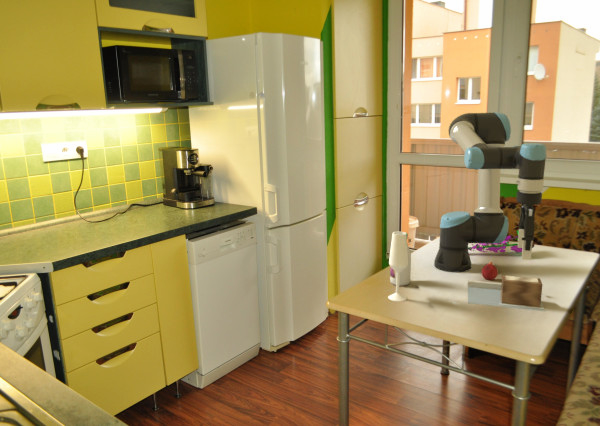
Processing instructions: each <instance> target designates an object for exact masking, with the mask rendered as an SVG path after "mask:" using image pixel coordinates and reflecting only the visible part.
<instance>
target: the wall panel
mask: <svg viewBox="0 0 600 426" xmlns="http://www.w3.org/2000/svg"><path fill="white" fill-rule="evenodd" d="M501 285H502V282H493V281H481V280H470V279H469V280H467V303H468V304H471V305H473V304H474V305H480V306H481V305H482V306H490V307H493V306H494V307H501V308H511V309H513V308H514V309H522V310H531V311H541V312H545V311H546V309H545V307H544V305H543V302H542V301H541V305H540V307H535V306H525V305H515V304H505V303H502V302H501Z"/></svg>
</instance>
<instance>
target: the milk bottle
mask: <svg viewBox="0 0 600 426" xmlns="http://www.w3.org/2000/svg"><path fill="white" fill-rule="evenodd" d="M405 233H406V237H407V240H408V239H409V238H408V236H409V235H408V234H409V233H408V232H405ZM407 253H408V266H407V267H406V268H405V269H404V270H403V271H402V272H400V284H399V287H401V286H402V287H403V286H408V285H409V284H410V283H411V275H412V274H411V269H412V267H411V266H412V264H411V263H412V254H411V249H410V247H409V244H408V243H407ZM396 273H397V272H395V271H394V270H393V269H392V268H391V267H390V273H389V274H390V275H389V276H390V277H389V281H390V283H391V284H392V285H394V286H396Z"/></svg>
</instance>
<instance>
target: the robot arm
mask: <svg viewBox="0 0 600 426" xmlns="http://www.w3.org/2000/svg"><path fill="white" fill-rule="evenodd" d="M511 132H512V128H511V122H510V119H509V117H508V116H507V115H506V113H503V112H496V111H495V112H475V113H474V112H467V113H463V114H459V115H458V116H457V117H455V118H454V119H453V120H452V121H451V123H450V124H449V126H448V136H449V138H450V140H451V141H452V143H453V142H454V143H455V144H458V146H459V147H460V148H461V150H462V151H463V152H464V156H463V161H464V166H465V167H466V169H468V170H477V171H478V172H477V173H478V176H477V177H478V178H477V181H478V182H477V206H476V207H477V208H476V209H474V210H473V215H471V213H470V212H468V211H451V212H447V213H445V214H443V215H442V216H441V218H440V224H439V247H438V250H437V253H436V256H435V258H434V262H433V263H434V268H436V269H438V270H440V271H444V272H452V273H463V272H468V271H470V270H471V269H472V260H471V257H470V253H469V250H468V247H469V244H479V243H490V244H489V245H491V244H493V243H501V242H503V241H504V240H505V238H506V237H507V236H508V233H509V227H510V226H509V224H510V223H509V218H508V217H507V216H506V215H505V214H504V211H503V209H501V206H500V205H501V204H500V202H501V201H500V200H501V170H518V177H517V178H518V180H516V181H515V184H517V190H518V191H516V199H515V201H516V203H518V204H520V205H521V207H520V215H519V221H518V231H519V236H518V235H517V236H518V241H517V243H518V248H522V253H521V260H524V261H532V251H533V248H532V243H533V241H534V240H535V215H536V209H535V208H534V205H540V204H542V199H543V193H542V191H543V189H544V180H545V177H544V176H545V169H546V159H547V146H546V145H545V144H543V143H538V142H537V143H536V142H528V143H527V142H526V143H523V144H521V145H514V146H506V142H509V140H510V138H511Z"/></svg>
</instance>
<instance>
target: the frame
mask: <svg viewBox="0 0 600 426" xmlns="http://www.w3.org/2000/svg"><path fill="white" fill-rule="evenodd" d="M501 276H502V277H501V283H502V285H501V302H502V303H505V304H515V305H525V306H535V307H540V305H541V302H542V295H543V292H542V291H543V283H542V280H541V278H539V277H527V276H513V275H504V274H503V275H501Z"/></svg>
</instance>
